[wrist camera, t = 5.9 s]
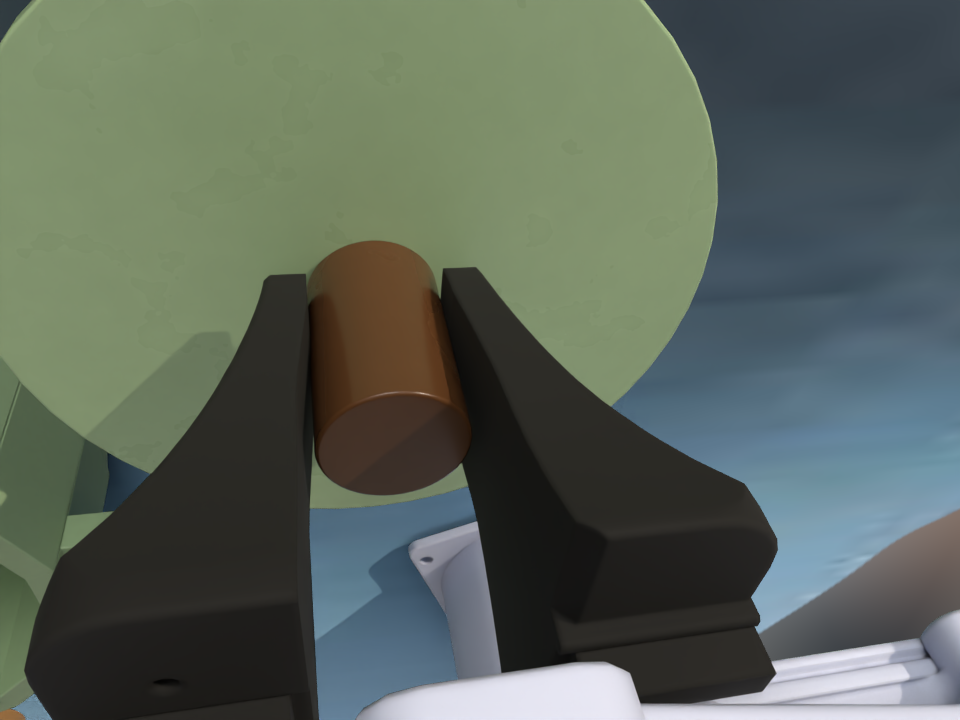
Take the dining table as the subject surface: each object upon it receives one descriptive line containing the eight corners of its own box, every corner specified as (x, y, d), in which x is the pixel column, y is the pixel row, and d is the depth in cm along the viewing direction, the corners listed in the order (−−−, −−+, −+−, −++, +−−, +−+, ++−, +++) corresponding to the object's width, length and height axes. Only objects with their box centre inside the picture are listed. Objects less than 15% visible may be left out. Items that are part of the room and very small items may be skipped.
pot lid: (617, 448, 21) (685, 612, 18) (86, 499, 18) (43, 705, 15) (799, -116, 12) (1014, -3, 9) (-203, -176, 9) (-481, -46, 6)
